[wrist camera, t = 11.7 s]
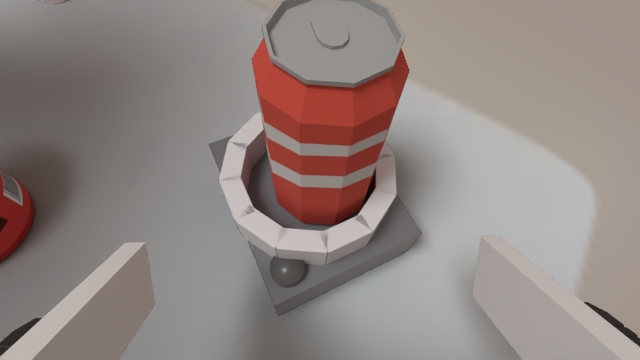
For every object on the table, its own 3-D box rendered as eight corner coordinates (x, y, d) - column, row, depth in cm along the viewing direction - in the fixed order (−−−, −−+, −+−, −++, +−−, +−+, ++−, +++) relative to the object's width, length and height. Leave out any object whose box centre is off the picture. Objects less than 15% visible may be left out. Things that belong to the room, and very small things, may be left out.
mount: (218, 173, 28) (195, 122, 22) (333, 130, 30) (339, 74, 25) (275, 316, 23) (266, 299, 17) (407, 251, 25) (437, 216, 20)
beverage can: (350, 138, 25) (382, -30, 14) (378, 218, 22) (446, 81, 12) (266, 154, 24) (236, -13, 14) (285, 240, 21) (266, 112, 11)
